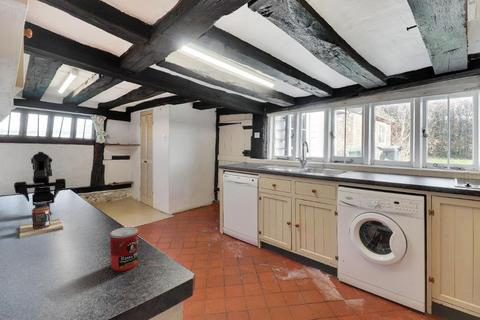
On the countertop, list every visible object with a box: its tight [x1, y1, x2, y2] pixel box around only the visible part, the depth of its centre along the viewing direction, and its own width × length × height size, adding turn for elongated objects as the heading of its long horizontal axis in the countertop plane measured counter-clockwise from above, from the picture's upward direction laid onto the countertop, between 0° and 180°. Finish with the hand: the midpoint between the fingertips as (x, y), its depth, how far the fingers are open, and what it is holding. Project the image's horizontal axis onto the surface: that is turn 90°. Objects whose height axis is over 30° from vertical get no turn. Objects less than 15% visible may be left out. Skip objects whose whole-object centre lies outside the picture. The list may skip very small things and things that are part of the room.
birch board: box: [19, 218, 64, 239], centre depth 101 cm, size 18×14×1 cm
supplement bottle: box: [31, 202, 51, 229], centre depth 99 cm, size 6×6×11 cm
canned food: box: [109, 226, 139, 272], centre depth 69 cm, size 8×8×11 cm
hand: (41, 199), depth 105 cm, fingers open, 9 cm apart
